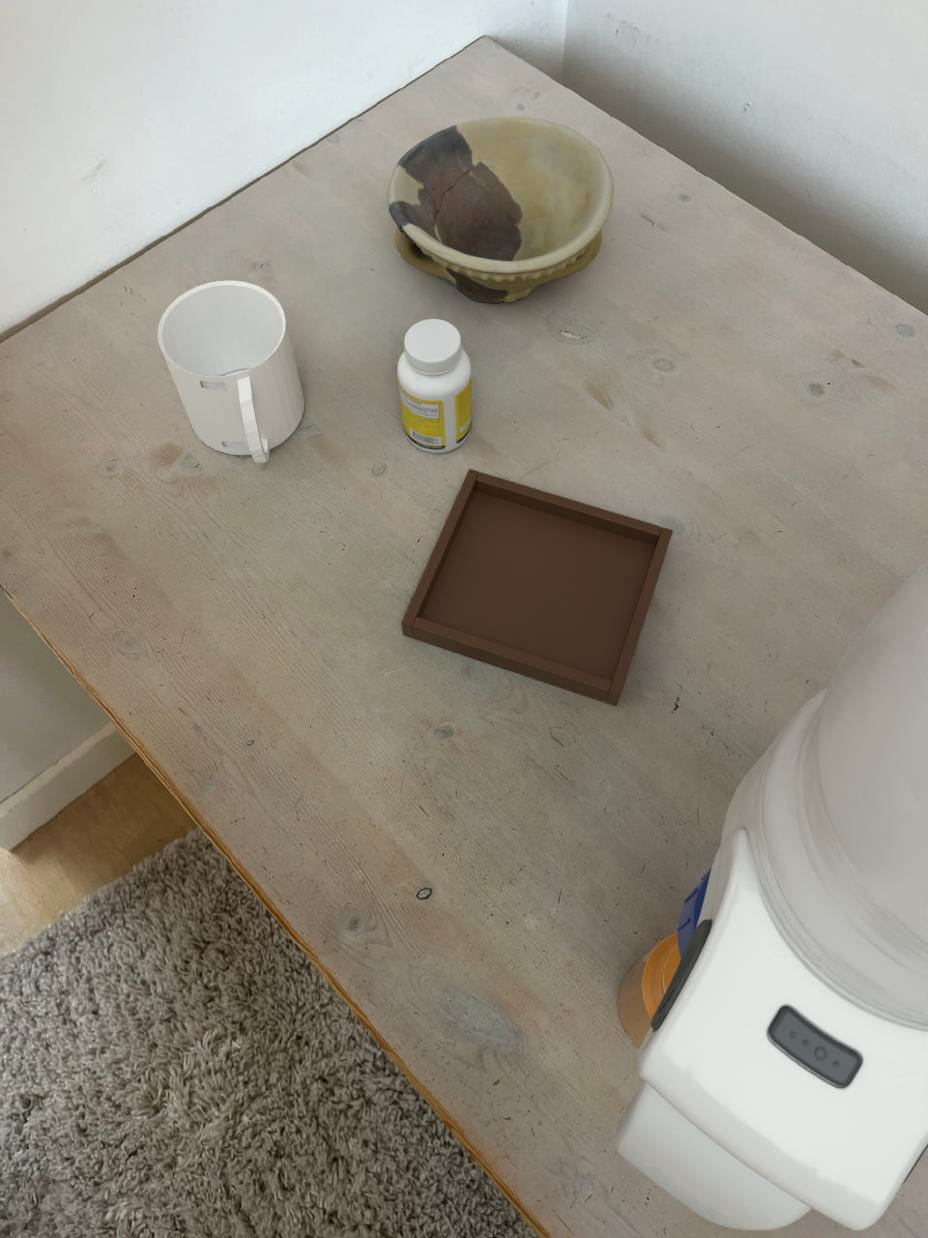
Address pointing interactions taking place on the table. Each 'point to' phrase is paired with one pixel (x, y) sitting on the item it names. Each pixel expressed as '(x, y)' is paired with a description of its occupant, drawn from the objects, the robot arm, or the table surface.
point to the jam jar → (647, 988)
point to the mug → (233, 367)
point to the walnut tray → (539, 586)
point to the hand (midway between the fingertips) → (761, 938)
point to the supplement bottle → (435, 387)
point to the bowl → (501, 205)
